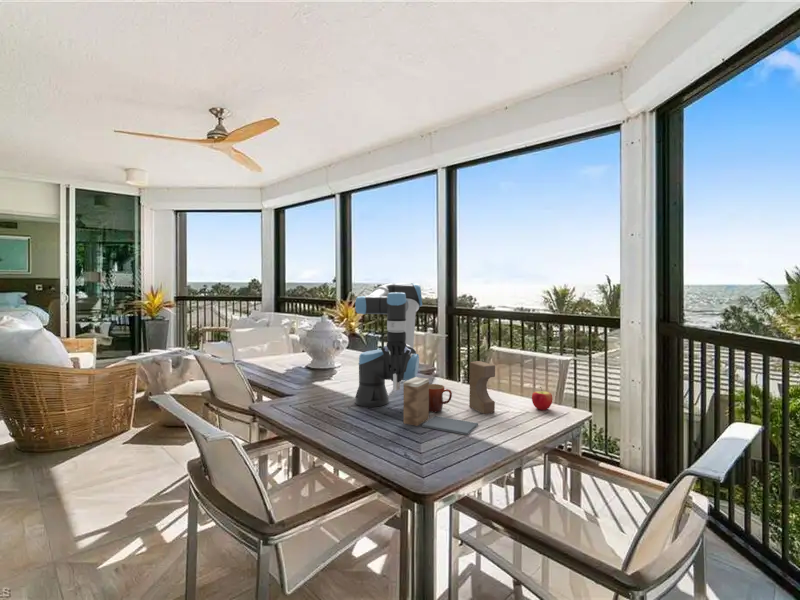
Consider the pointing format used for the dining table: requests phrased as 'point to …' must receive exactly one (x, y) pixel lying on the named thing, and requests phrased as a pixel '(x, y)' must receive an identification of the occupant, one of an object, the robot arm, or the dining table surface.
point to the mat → (450, 425)
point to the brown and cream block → (416, 401)
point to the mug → (437, 397)
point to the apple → (542, 399)
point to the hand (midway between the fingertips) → (396, 389)
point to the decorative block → (481, 387)
